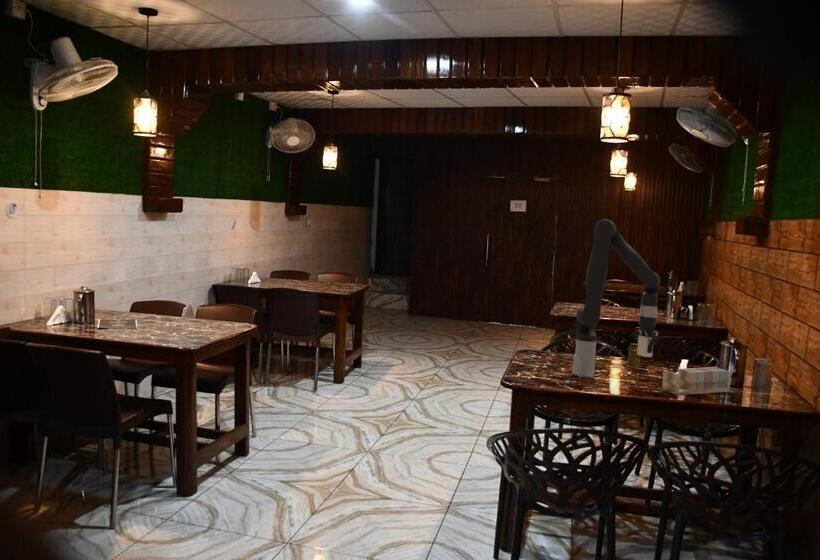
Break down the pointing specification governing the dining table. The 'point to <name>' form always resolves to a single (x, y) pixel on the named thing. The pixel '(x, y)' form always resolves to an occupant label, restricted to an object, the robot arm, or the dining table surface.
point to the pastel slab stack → (696, 381)
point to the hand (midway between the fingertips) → (644, 351)
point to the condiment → (633, 356)
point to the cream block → (643, 347)
